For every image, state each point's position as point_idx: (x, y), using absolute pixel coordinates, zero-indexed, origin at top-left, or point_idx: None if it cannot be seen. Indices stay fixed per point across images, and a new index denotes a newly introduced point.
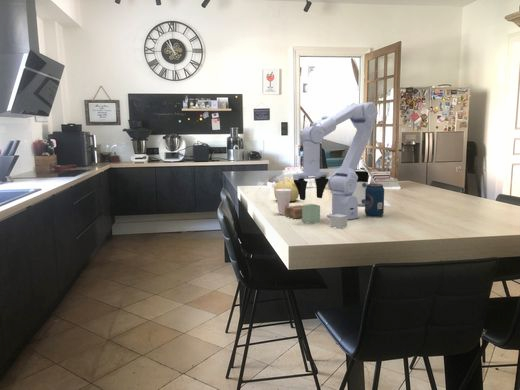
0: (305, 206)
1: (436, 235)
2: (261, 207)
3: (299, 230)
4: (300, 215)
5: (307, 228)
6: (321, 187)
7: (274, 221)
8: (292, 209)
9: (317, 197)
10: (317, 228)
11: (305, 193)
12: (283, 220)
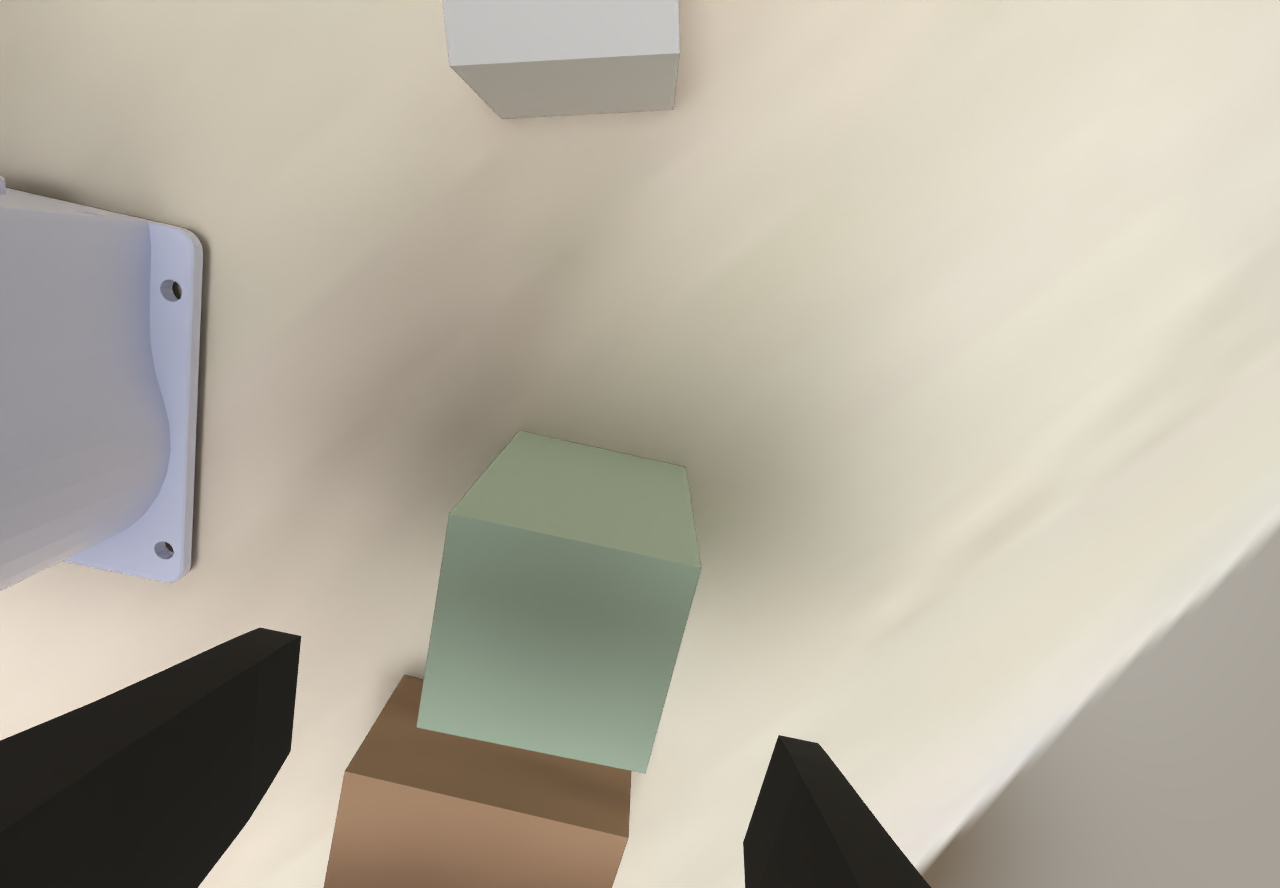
0: (668, 683)
1: None
2: None
3: (1127, 296)
4: None
5: (959, 296)
6: (17, 875)
7: None
8: (611, 883)
9: (286, 742)
10: (874, 191)
11: (844, 856)
12: None
